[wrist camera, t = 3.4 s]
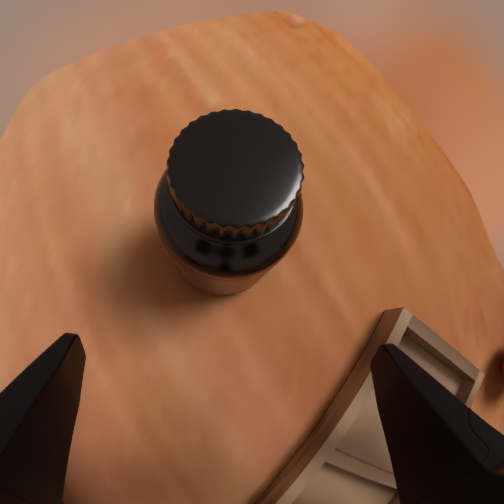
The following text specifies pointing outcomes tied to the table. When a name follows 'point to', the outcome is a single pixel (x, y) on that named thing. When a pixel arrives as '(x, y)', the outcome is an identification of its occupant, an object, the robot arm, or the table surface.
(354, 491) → the holder
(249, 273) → the supplement bottle
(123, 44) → the table surface
